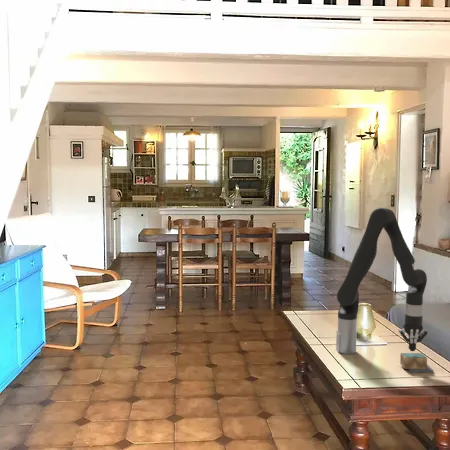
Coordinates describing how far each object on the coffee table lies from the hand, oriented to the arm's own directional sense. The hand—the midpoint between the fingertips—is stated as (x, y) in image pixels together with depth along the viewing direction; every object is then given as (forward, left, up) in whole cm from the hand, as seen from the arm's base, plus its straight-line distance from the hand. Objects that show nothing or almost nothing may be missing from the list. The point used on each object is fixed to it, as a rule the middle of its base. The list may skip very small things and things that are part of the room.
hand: (412, 350), depth 233 cm
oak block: (-4, 0, -5) cm, 6 cm away
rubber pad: (+3, 0, -8) cm, 9 cm away
